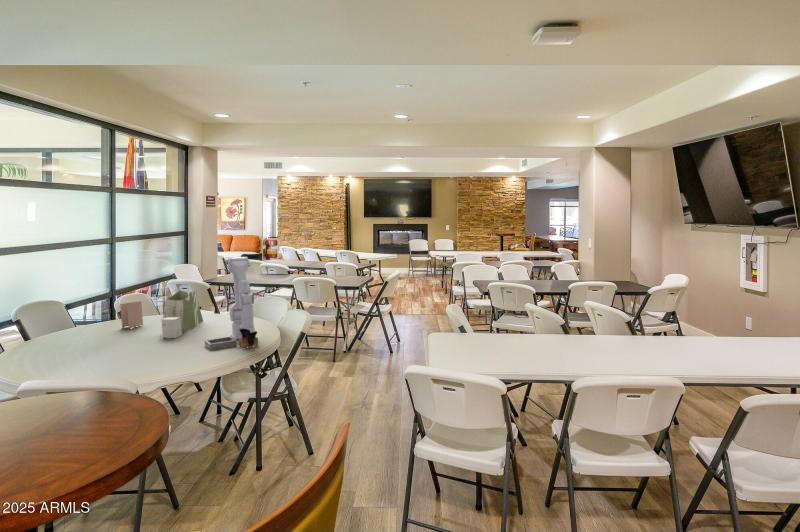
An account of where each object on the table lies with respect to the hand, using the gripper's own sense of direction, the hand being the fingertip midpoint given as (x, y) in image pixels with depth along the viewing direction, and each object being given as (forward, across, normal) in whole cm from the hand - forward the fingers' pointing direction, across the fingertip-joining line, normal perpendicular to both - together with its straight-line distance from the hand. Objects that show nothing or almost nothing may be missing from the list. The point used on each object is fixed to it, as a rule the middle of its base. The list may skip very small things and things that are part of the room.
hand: (248, 343), depth 246 cm
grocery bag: (+2, -69, -16) cm, 71 cm away
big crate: (+1, -10, -11) cm, 15 cm away
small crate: (+2, 0, 0) cm, 2 cm away
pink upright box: (+2, -86, -41) cm, 95 cm away
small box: (+2, -47, -27) cm, 54 cm away
